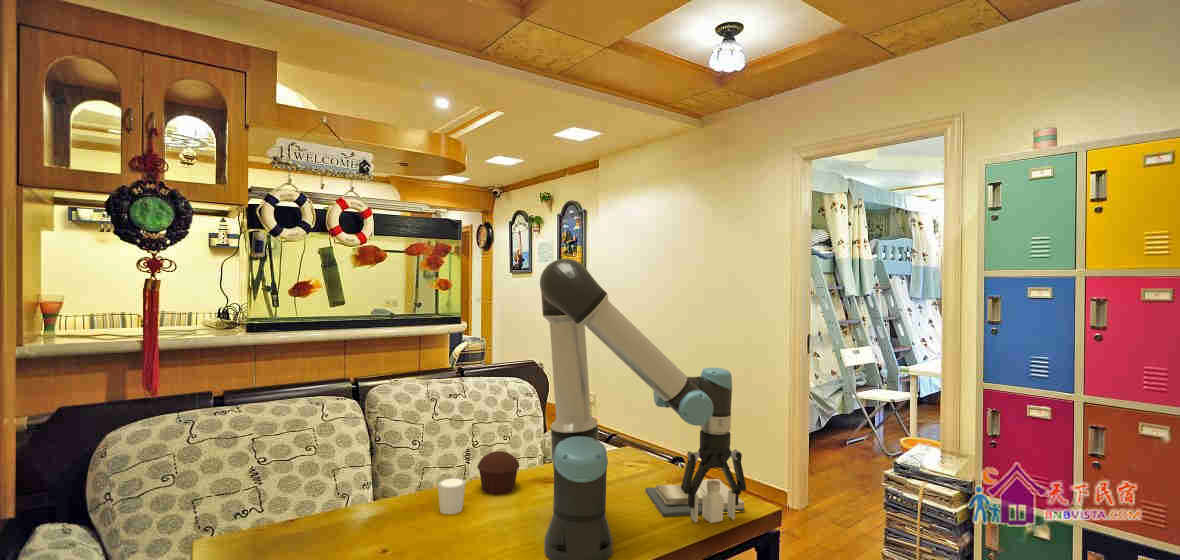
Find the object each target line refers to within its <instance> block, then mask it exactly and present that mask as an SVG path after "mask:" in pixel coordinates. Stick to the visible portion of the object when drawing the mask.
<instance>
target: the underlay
mask: <svg viewBox="0 0 1180 560" xmlns="http://www.w3.org/2000/svg"><path fill="white" fill-rule="evenodd" d="M709 480H716V481H718V482H720V491H719V494H720V495H721V496H722V497H723V499H724V502H723V512H728V490H731V488H729V487H728V486H727V485H726V484H725V483H724V482H723V481H721V480H720V478H715V479H714V478H713V479H712V478H711V479H703V481H702V483H701V485H700V486H699V487H700V488H701V489H702V490H703V491H704V493H707V481H709ZM644 491H645V493H646V495H647V494H648V495H647V496H648V498H649V497H650V498H649V499H650V500H651V502H652V501H653V502H652V503H653V504H655V505H654V506H655V508H656V509H657V510H658V511H659V513H660V515H661V514H662V515H661V517H663V518H667V517H666V516H672V517H681V516H680V515H688V516H691V508H690V507H689V506H688V504H681V505H666V504H665V502H664V501H663V500H662V498H661V497H660V496H659V494H658V493H657V492H656V487H645V490H644ZM702 510H703V504H698V514H702ZM735 511H744V512H745V501H743V500H742V499H741V498H740V497H739V498H738V505H735Z"/></svg>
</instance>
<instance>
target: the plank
mask: <svg viewBox="0 0 1180 560" xmlns="http://www.w3.org/2000/svg"><path fill="white" fill-rule="evenodd" d="M681 485H682V484H656V485H655V488H656V492H657V493H658V494H659V496H660V497H661V498H662V500H663V501H664V502H665V504H666V505H681V504H688V494H685V493H684V492H683V491H682V489H681ZM696 494H697V495H698V504H703V494H705V493H704V491H703V490H702V489H701V488H700V487H699V488H698V490H697V492H696Z"/></svg>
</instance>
